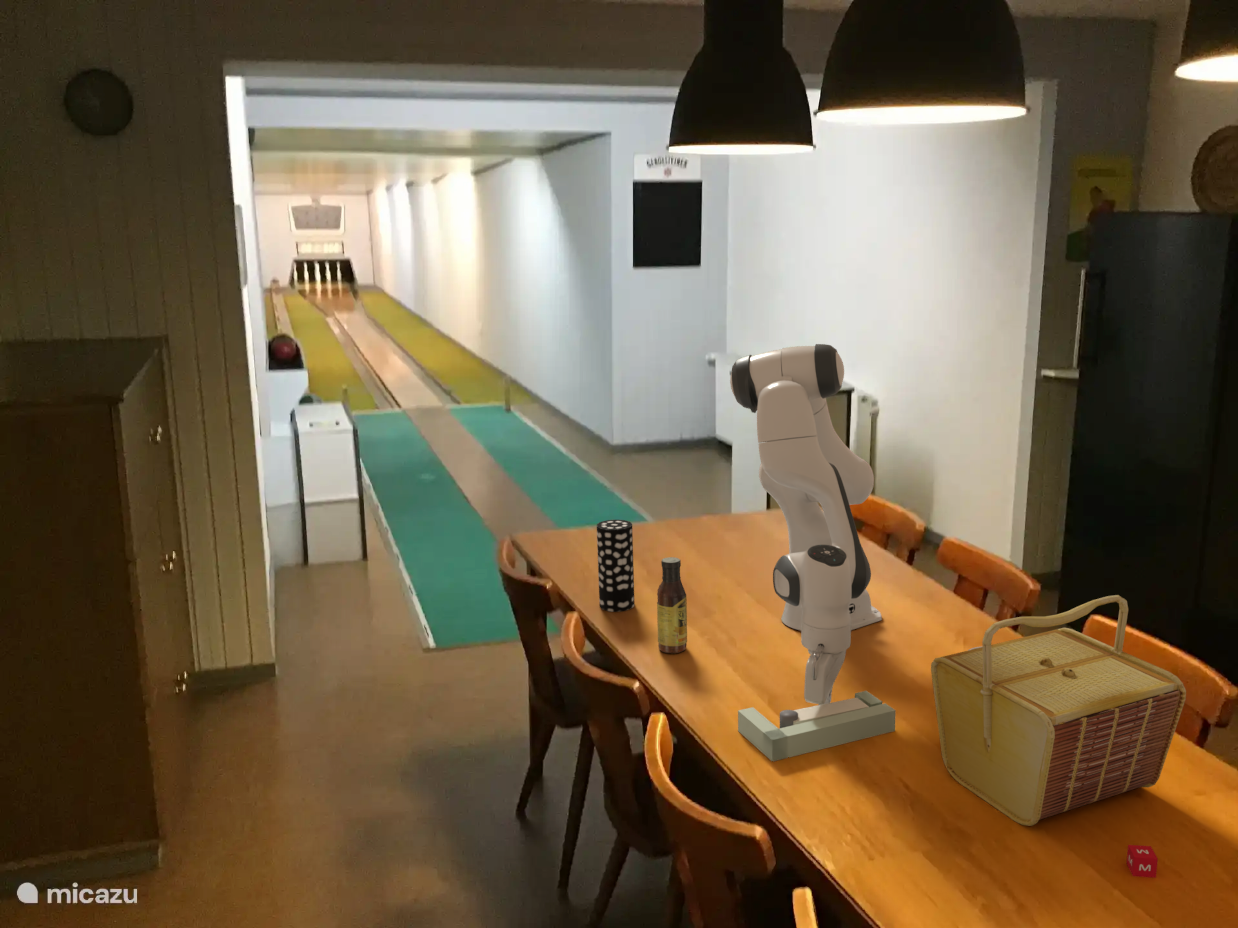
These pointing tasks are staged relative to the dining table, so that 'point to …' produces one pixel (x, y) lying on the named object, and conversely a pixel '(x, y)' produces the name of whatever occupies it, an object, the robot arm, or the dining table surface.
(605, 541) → the white-spotted black cylinder
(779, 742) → the frame
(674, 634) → the sauce bottle
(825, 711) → the bar
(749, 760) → the dining table surface
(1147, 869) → the dice
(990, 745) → the picnic basket
